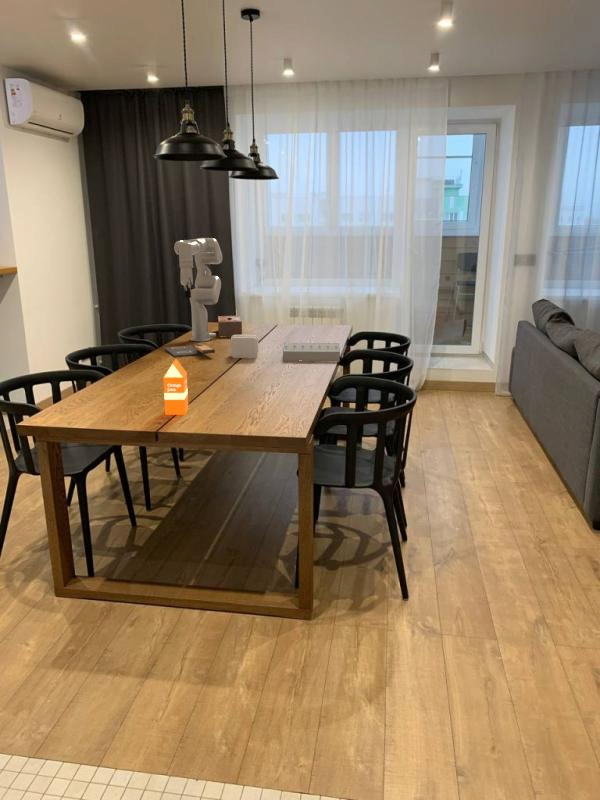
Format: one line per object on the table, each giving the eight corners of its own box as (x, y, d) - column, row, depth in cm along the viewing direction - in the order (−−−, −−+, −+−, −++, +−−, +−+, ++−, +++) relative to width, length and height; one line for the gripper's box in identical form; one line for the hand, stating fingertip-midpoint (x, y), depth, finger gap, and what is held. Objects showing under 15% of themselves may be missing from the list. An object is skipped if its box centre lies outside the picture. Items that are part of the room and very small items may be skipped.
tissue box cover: (242, 337, 399) (241, 321, 396) (219, 337, 397) (218, 322, 394) (239, 330, 423) (239, 315, 421) (218, 331, 421) (217, 316, 418)
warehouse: (282, 362, 330) (282, 347, 328) (284, 356, 344) (284, 342, 342) (339, 362, 329) (340, 348, 327) (338, 356, 343) (339, 343, 341)
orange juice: (188, 408, 247) (186, 358, 241) (185, 414, 238) (183, 363, 233) (168, 408, 246) (166, 358, 241) (164, 414, 238) (161, 363, 232)
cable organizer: (229, 359, 335) (228, 337, 332) (231, 355, 345) (231, 334, 342) (257, 359, 335) (257, 337, 331) (258, 355, 345) (258, 334, 342)
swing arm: (193, 348, 349) (193, 344, 348) (204, 347, 352) (204, 343, 351) (203, 353, 334) (203, 349, 333) (214, 352, 336) (214, 348, 336)
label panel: (195, 346, 366) (194, 342, 365) (206, 354, 345) (206, 350, 344) (164, 349, 359) (164, 345, 358) (174, 357, 338) (174, 352, 337)
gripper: (176, 264, 357) (178, 296, 362) (183, 266, 344) (184, 299, 349) (189, 263, 360) (190, 295, 365) (196, 265, 347) (197, 299, 352)
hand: (187, 297), depth 357 cm, fingers closed
